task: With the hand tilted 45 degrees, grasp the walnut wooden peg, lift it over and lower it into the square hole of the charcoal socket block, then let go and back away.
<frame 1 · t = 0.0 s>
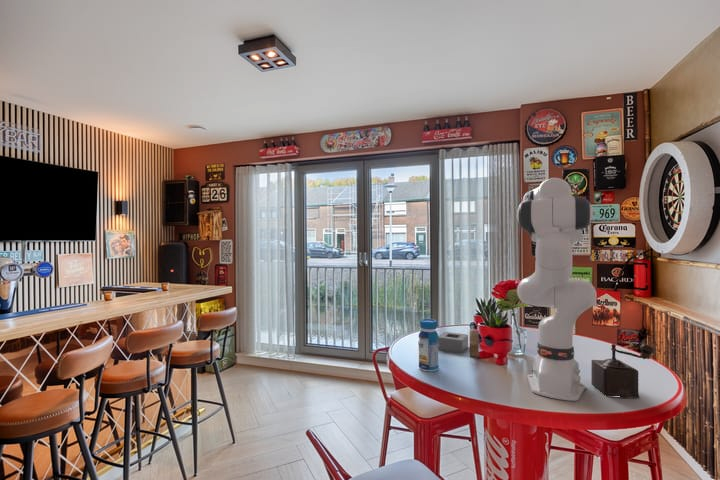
hand: (556, 251, 158), 48 cm above the table, tool pointing down, fingers open, 8 cm apart
beverage bottle: (428, 368, 147), on the table
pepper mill: (622, 392, 123), on the table
charcoal socket: (452, 347, 175), on the table
walnut peg: (474, 356, 162), on the table
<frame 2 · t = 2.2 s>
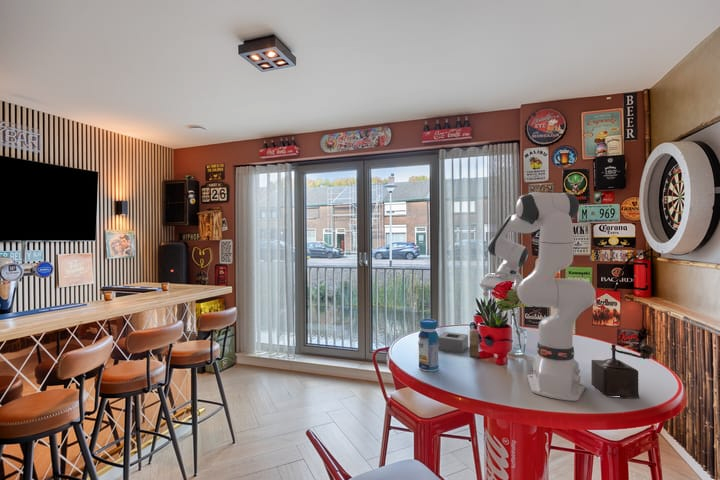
hand: (493, 296, 169), 26 cm above the table, tool tilted 45°, fingers open, 8 cm apart
nothing on the table moved.
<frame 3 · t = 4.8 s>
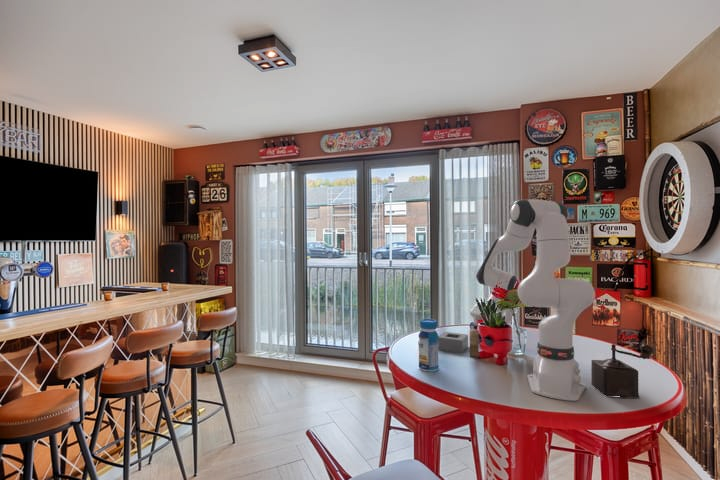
hand: (483, 327, 165), 13 cm above the table, tool tilted 45°, fingers open, 8 cm apart
nothing on the table moved.
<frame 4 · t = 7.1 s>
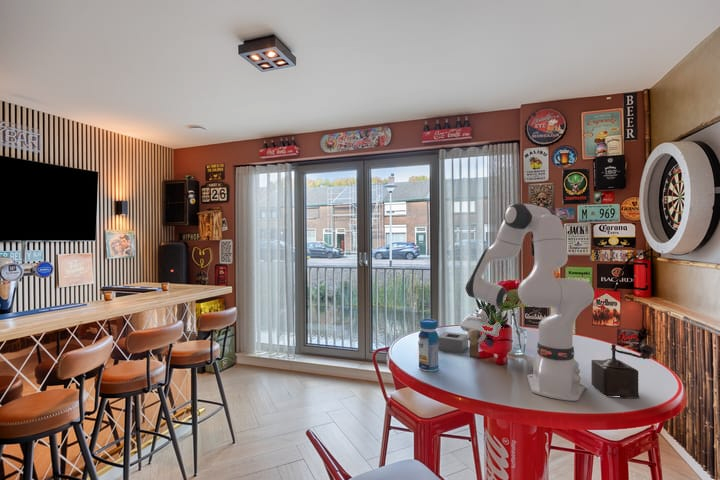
hand: (473, 341, 161), 7 cm above the table, tool tilted 45°, fingers closed on walnut peg, 4 cm apart
walnut peg: (474, 356, 162), on the table, touching gripper
everything else where it was.
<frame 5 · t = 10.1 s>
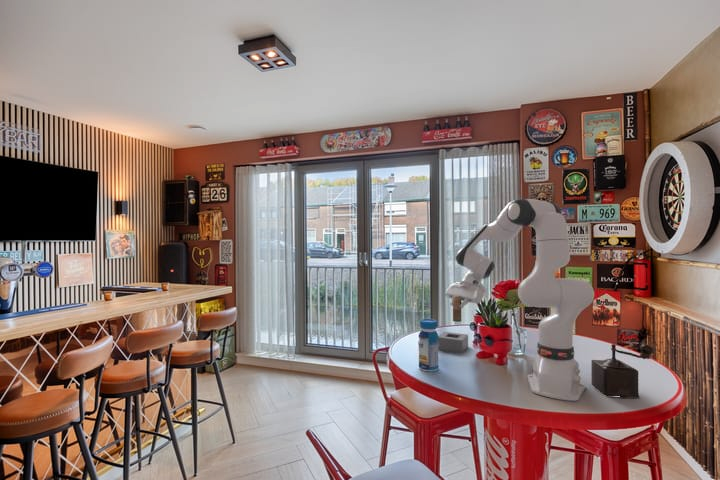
hand: (456, 306, 172), 21 cm above the table, tool tilted 45°, fingers closed on walnut peg, 4 cm apart
walnut peg: (457, 320, 173), point 14 cm above the table, touching gripper
everything else where it was.
when the fingers open (10 cm above the table, at t = 13.4 s): walnut peg drops 1 cm, resting on charcoal socket.
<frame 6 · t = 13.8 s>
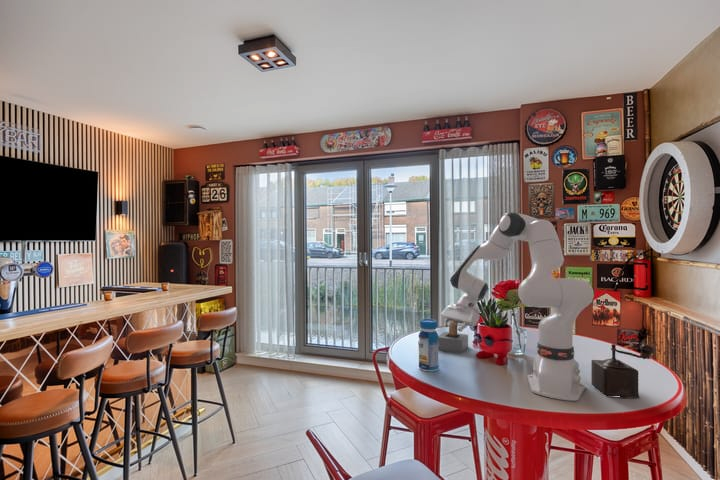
hand: (452, 328, 174), 10 cm above the table, tool tilted 45°, fingers open, 8 cm apart
walnut peg: (453, 345, 175), point 1 cm above the table, touching charcoal socket
everything else where it was.
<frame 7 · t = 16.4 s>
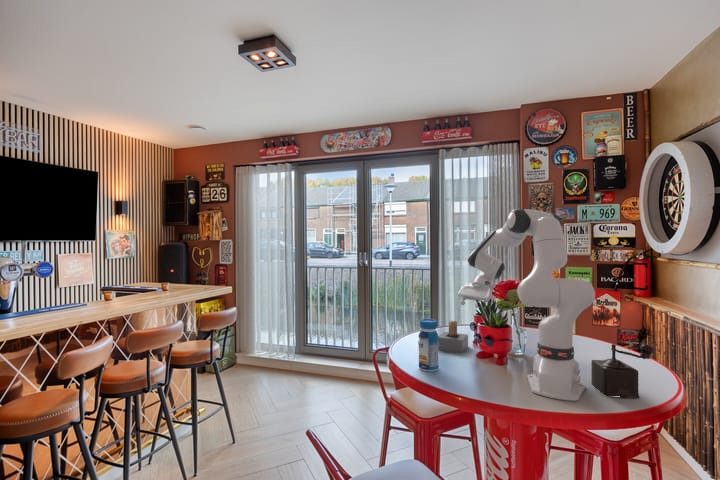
hand: (469, 305, 182), 20 cm above the table, tool tilted 45°, fingers open, 8 cm apart
nothing on the table moved.
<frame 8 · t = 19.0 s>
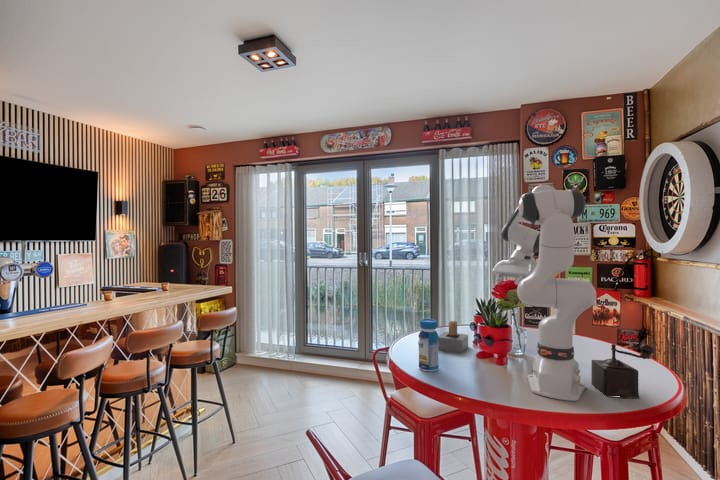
hand: (507, 282, 165), 33 cm above the table, tool tilted 45°, fingers open, 8 cm apart
nothing on the table moved.
at the end: walnut peg 0.0 cm off-centre on the charcoal socket, point 1.0 cm above the charcoal socket's base; walnut peg tilted 0°; the gripper is holding nothing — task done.
